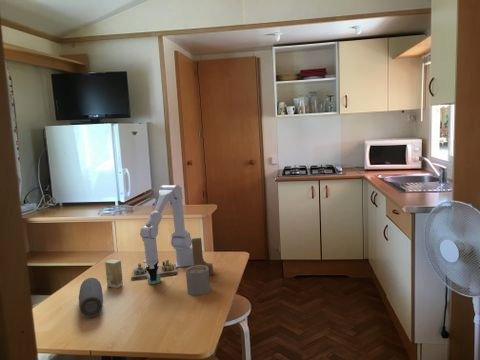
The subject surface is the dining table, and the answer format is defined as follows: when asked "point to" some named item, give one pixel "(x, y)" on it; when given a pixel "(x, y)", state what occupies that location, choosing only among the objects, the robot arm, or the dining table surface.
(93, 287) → the bluetooth speaker
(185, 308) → the dining table surface
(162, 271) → the gear board
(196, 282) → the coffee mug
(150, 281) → the teal gear
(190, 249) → the robot arm
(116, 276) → the skincare box
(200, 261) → the wooden block
